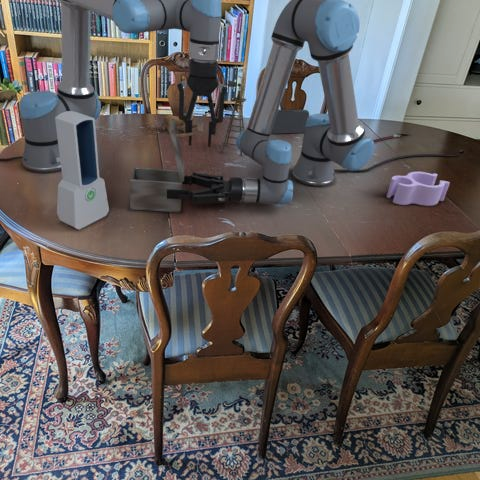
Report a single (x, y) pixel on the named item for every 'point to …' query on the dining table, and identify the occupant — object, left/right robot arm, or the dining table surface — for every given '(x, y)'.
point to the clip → (417, 189)
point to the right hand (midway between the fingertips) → (167, 186)
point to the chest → (154, 189)
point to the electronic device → (79, 171)
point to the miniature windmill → (238, 100)
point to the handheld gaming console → (290, 121)
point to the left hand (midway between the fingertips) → (199, 144)
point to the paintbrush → (388, 137)
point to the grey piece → (177, 146)
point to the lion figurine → (178, 121)
